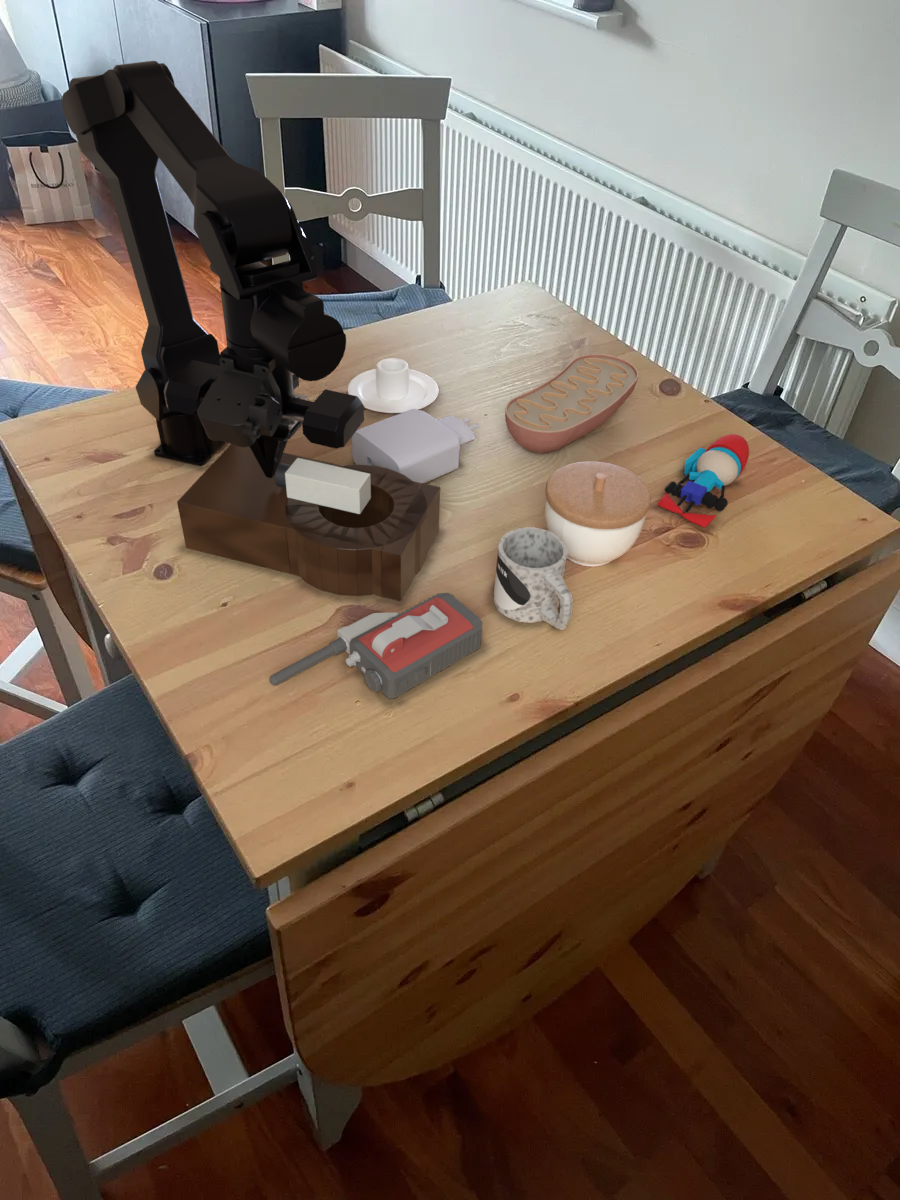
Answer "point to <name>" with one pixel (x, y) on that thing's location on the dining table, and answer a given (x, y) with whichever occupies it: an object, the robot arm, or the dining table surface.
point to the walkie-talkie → (401, 645)
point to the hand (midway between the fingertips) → (271, 475)
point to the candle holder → (393, 387)
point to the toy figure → (708, 477)
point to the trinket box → (596, 510)
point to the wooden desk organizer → (313, 526)
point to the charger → (413, 444)
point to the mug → (532, 577)
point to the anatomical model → (570, 402)
